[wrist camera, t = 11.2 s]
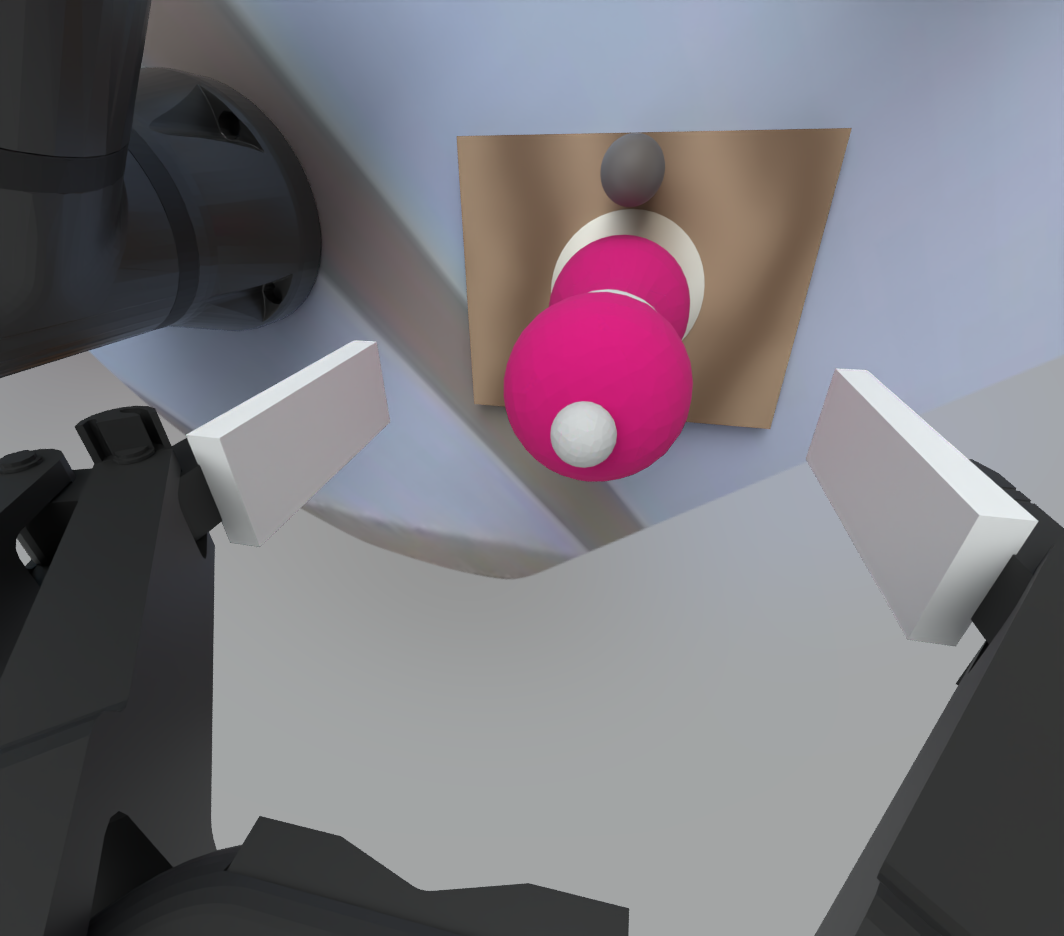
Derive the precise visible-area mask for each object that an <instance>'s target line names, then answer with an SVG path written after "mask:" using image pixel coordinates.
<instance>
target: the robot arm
mask: <svg viewBox="0 0 1064 936" xmlns="http://www.w3.org/2000/svg"><path fill="white" fill-rule="evenodd" d="M150 6H151V0H0V378H2V377H5V376H8V375H12V374H15V373H18V372H21V371H25V370H28V369H31V368H34V367H37V366H41V365H44V364H47V363H50V362H53V361H57V360H60V359H63V358H66V357H69V356H73V355H76V354H79V353H82V352H85V351H89V350H92V349H95V348H98V347H101V346H105V345H108V344H111V343H114V342H117V341H121V340H124V339H127V338H130V337H133V336H137V335H140V334H143V333H146V332H149V331H152V330H156V329H159V328H163V327H167V326H173V327H186V328H200V329H213V330H227V331H242V330H249V329H255V328H258V327H261V326H264V325H267V324H270V323H272V322H275V321H278V320H280V319H283V318H285V317H287V316H288V315H290V314H291V313H293V312H294V311H295V310H296V309H297V308H298V307H299V306H300V305H301V304H302V303H303V302H304V300H305V299H306V297H307V296H308V294H309V293H310V291H311V289H312V287H313V284H314V282H315V279H316V276H317V272H318V268H319V262H320V253H321V235H320V225H319V219H318V213H317V209H316V204H315V201H314V197H313V194H312V191H311V188H310V185H309V183H308V180H307V178H306V176H305V173H304V171H303V169H302V167H301V165H300V163H299V161H298V159H297V157H296V156H295V154H294V152H293V151H292V149H291V147H290V146H289V144H288V143H287V141H286V140H285V138H284V137H283V136H282V134H281V133H280V132H279V130H278V129H277V128H276V127H275V125H274V124H273V123H272V122H271V121H270V120H269V119H268V117H267V116H266V115H265V114H264V113H263V112H262V111H261V110H260V109H258V108H257V107H256V106H255V105H254V104H253V103H252V102H250V101H249V100H248V99H247V98H245V97H244V96H243V95H241V94H240V93H238V92H237V91H235V90H234V89H232V88H230V87H229V86H227V85H225V84H223V83H221V82H218V81H216V80H214V79H211V78H208V77H204V76H201V75H196V74H192V73H188V72H183V71H179V70H174V69H169V68H141V62H142V56H143V50H144V44H145V37H146V31H147V25H148V19H149V12H150ZM389 423H390V418H389V412H388V406H387V400H386V394H385V388H384V382H383V376H382V371H381V365H380V359H379V353H378V347H377V342H374V341H357V340H354V341H352V342H350V343H348V344H347V345H345V346H343V347H341V348H340V349H338V350H336V351H334V352H332V353H331V354H329V355H327V356H325V357H324V358H322V359H320V360H318V361H316V362H315V363H313V364H311V365H309V366H307V367H306V368H304V369H302V370H300V371H299V372H297V373H295V374H293V375H291V376H290V377H288V378H286V379H284V380H283V381H281V382H279V383H277V384H275V385H274V386H272V387H270V388H268V389H267V390H265V391H263V392H261V393H259V394H258V395H256V396H254V397H252V398H251V399H249V400H247V401H245V402H243V403H242V404H240V405H238V406H236V407H234V408H233V409H231V410H229V411H227V412H226V413H224V414H222V415H220V416H218V417H217V418H215V419H213V420H211V421H210V422H208V423H206V424H204V425H202V426H201V427H199V428H197V429H195V430H194V431H192V432H190V433H188V434H186V437H187V438H186V439H184V440H182V441H180V442H179V443H177V444H175V445H174V446H171V444H170V442H169V439H168V437H167V435H166V432H165V430H164V428H163V426H162V423H161V421H160V419H159V417H158V414H157V412H156V410H155V408H152V407H149V406H131V407H122V408H117V409H112V410H108V411H104V412H102V413H98V414H95V415H92V416H90V417H88V418H86V419H84V420H82V421H80V422H79V423H78V424H77V425H76V426H75V428H76V430H77V432H78V434H79V436H80V437H81V440H82V441H83V443H84V445H85V447H86V449H87V451H88V453H89V454H90V456H91V458H92V460H93V462H94V466H93V468H92V469H79V470H72V469H71V467H70V465H69V464H68V462H67V460H66V458H65V457H64V455H63V453H62V452H61V451H59V450H55V449H39V450H33V451H29V450H24V451H19V452H17V453H12V454H8V455H6V456H4V457H3V458H1V459H0V936H628V926H629V924H628V923H629V908H625V907H621V906H617V905H613V904H609V903H605V902H601V901H597V900H593V899H589V898H585V897H581V896H577V895H573V894H569V893H565V892H561V891H557V890H553V889H549V888H545V887H541V886H537V885H533V884H529V883H527V884H515V885H502V886H490V887H478V888H465V889H453V890H439V891H424V890H420V889H417V888H415V887H414V886H412V885H410V884H409V883H408V882H406V881H405V880H403V879H402V878H400V877H399V876H398V875H396V874H395V873H393V872H392V871H390V870H389V869H387V868H386V867H384V866H383V865H382V864H380V863H379V862H377V861H376V860H374V859H373V858H372V857H370V856H368V855H367V854H366V853H364V852H363V851H361V850H360V849H359V848H357V847H356V846H354V845H353V844H351V843H350V842H348V841H347V840H346V839H344V838H343V837H341V836H337V835H334V834H330V833H326V832H322V831H318V830H313V829H310V828H306V827H302V826H297V825H294V824H290V823H286V822H282V821H278V820H274V819H270V818H266V817H262V816H259V818H258V820H257V821H256V823H255V825H254V826H253V828H252V830H251V831H250V833H249V835H248V836H247V838H246V840H245V841H244V843H243V844H242V845H239V846H234V847H230V848H225V849H221V850H216V846H215V843H214V840H213V834H212V828H211V776H212V773H211V772H212V771H211V770H212V702H213V698H212V697H213V629H214V556H215V553H214V552H215V545H214V543H213V541H212V538H211V536H210V534H209V531H210V530H211V529H213V528H214V527H215V526H216V525H217V524H219V523H220V522H222V524H223V526H224V529H225V531H226V534H227V536H228V538H229V541H230V543H235V544H243V545H249V546H257V547H260V546H261V545H262V544H263V543H265V542H266V541H267V540H268V539H269V538H270V537H271V536H272V535H273V534H274V533H275V532H276V531H277V530H278V529H279V528H280V527H281V526H282V525H283V524H284V523H285V522H286V521H288V520H289V519H290V518H291V517H292V516H293V515H294V514H295V513H296V512H297V511H298V510H299V509H300V508H301V507H302V506H303V505H304V504H305V503H306V502H307V501H308V500H309V499H310V498H312V497H313V496H314V495H315V494H316V493H317V492H318V491H319V490H320V489H321V488H322V487H323V486H324V485H325V484H326V483H327V482H328V481H329V480H330V479H331V478H332V477H333V476H334V475H336V474H337V473H338V472H339V471H340V470H341V469H342V468H343V467H344V466H345V465H346V464H347V463H348V462H349V461H350V460H351V459H352V458H353V457H354V456H355V455H356V454H357V453H358V452H359V451H361V450H362V449H363V448H364V447H365V446H366V445H367V444H368V443H369V442H370V441H371V440H372V439H373V438H374V437H375V436H376V435H377V434H378V433H379V432H380V431H381V430H382V429H383V428H385V427H386V426H387V425H388V424H389ZM806 460H807V462H808V464H809V465H810V467H811V469H812V471H813V472H814V474H815V476H816V478H817V480H818V481H819V483H820V485H821V487H822V489H823V490H824V492H825V494H826V495H827V497H828V499H829V501H830V503H831V505H832V506H833V508H834V510H835V512H836V513H837V515H838V517H839V519H840V520H841V522H842V524H843V526H844V528H845V529H846V531H847V533H848V535H849V537H850V538H851V540H852V542H853V544H854V545H855V547H856V549H857V551H858V553H859V554H860V556H861V558H862V560H863V561H864V563H865V565H866V567H867V568H868V570H869V572H870V574H871V576H872V577H873V579H874V581H875V583H876V585H877V586H878V588H879V590H880V592H881V593H882V595H883V597H884V599H885V601H886V602H887V604H888V606H889V608H890V610H891V611H892V613H893V615H894V616H895V618H896V620H897V622H898V624H899V626H900V627H901V629H902V631H903V633H904V634H905V636H906V638H907V639H908V640H914V641H921V642H929V643H935V644H942V645H950V646H956V645H957V644H958V642H959V640H960V639H961V637H962V636H963V635H964V633H965V632H966V630H967V628H968V627H969V625H970V624H971V622H973V623H974V624H975V626H976V627H977V628H978V630H979V631H980V633H981V634H982V635H983V637H984V638H985V639H986V641H985V643H984V644H983V645H982V647H981V648H980V650H979V651H978V653H977V654H976V656H975V657H974V658H973V660H972V661H971V663H970V664H969V666H968V667H967V669H966V670H965V671H964V673H963V674H962V676H961V677H960V678H959V680H958V681H957V683H956V684H957V685H958V687H957V689H956V690H955V692H954V694H953V696H952V697H951V699H950V701H949V703H948V704H947V706H946V708H945V710H944V711H943V713H942V715H941V716H940V718H939V720H938V722H937V723H936V725H935V727H934V729H933V730H932V732H931V734H930V736H929V737H928V739H927V741H926V743H925V744H924V746H923V748H922V750H921V751H920V753H919V755H918V757H917V758H916V760H915V762H914V763H913V765H912V767H911V769H910V770H909V772H908V774H907V776H906V777H905V779H904V781H903V783H902V784H901V786H900V788H899V790H898V791H897V793H896V795H895V797H894V798H893V800H892V802H891V804H890V805H889V807H888V809H887V810H886V812H885V814H884V816H883V817H882V819H881V821H880V823H879V824H878V826H877V828H876V830H875V831H874V833H873V835H872V837H871V838H870V840H869V842H868V843H867V845H866V847H865V849H864V850H863V852H862V854H861V856H860V857H859V859H858V861H857V863H856V864H855V866H854V868H853V870H852V871H851V873H850V875H849V877H848V879H847V880H846V882H845V884H844V885H843V887H842V889H841V890H840V892H839V894H838V896H837V897H836V899H835V901H834V903H833V904H832V906H831V908H830V910H829V911H828V913H827V915H826V917H825V918H824V920H823V922H822V924H821V925H820V927H819V929H818V931H817V932H816V934H815V936H1064V528H1063V527H1061V526H1060V525H1059V524H1058V523H1057V522H1056V521H1054V520H1053V519H1052V518H1051V517H1050V516H1048V515H1047V514H1046V513H1045V512H1044V511H1042V510H1041V509H1040V508H1039V507H1038V506H1037V505H1035V504H1032V503H1030V501H1031V500H1030V499H1028V498H1027V497H1026V496H1025V495H1024V494H1023V493H1021V492H1020V491H1016V488H1015V487H1014V486H1013V485H1012V484H1011V483H1009V482H1008V481H1007V480H1006V479H1005V478H1004V477H1002V476H1001V475H1000V474H999V473H997V472H995V471H993V470H991V469H989V468H987V467H986V466H984V465H982V464H980V463H978V462H976V461H974V460H972V459H967V458H966V457H965V456H964V455H963V454H961V453H960V452H959V451H958V450H957V449H956V448H955V447H953V446H952V445H951V444H950V443H949V442H948V441H947V440H946V439H944V438H943V437H942V436H941V435H940V434H939V433H938V432H937V431H936V430H934V429H933V428H932V427H931V426H930V425H929V424H928V423H926V422H925V421H924V420H923V419H922V418H921V417H920V416H918V415H917V414H916V413H915V412H914V411H913V410H912V409H911V408H909V407H908V406H907V405H906V404H905V403H904V402H903V401H901V400H900V399H899V398H898V397H897V396H896V395H895V394H894V393H892V392H891V391H890V390H889V389H888V388H887V387H886V386H884V385H883V384H882V383H881V382H880V381H879V380H878V379H877V378H875V377H874V376H873V375H872V374H871V373H870V372H869V371H867V370H854V369H837V368H835V371H834V374H833V377H832V380H831V383H830V386H829V390H828V393H827V396H826V399H825V402H824V405H823V408H822V411H821V414H820V417H819V420H818V423H817V426H816V429H815V432H814V435H813V438H812V441H811V444H810V447H809V450H808V453H807V457H806ZM16 538H17V539H18V540H19V542H20V543H21V545H22V546H23V548H24V549H25V551H26V552H27V553H28V555H29V556H30V557H31V561H30V562H29V563H28V564H27V565H26V566H24V565H23V563H22V562H21V560H20V559H19V556H18V554H17V552H16Z"/></svg>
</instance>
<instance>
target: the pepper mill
mask: <svg viewBox="0 0 1064 936" xmlns="http://www.w3.org/2000/svg"><path fill="white" fill-rule="evenodd" d="M689 312H690V293H689V287H688V284H687V280H686V277H685V275H684V273H683V271H682V268H681V267H680V265H679V264H678V263H677V261H676V260H675V258H674V257H673V256H672V255H671V254H670V253H669V252H668V251H667V250H666V249H664V248H663V247H661V246H660V245H658V244H657V243H655V242H653V241H651V240H648V239H646V238H643V237H639V236H635V235H612V236H608V237H604V238H600V239H598V240H596V241H593V242H591V243H589V244H588V245H586V246H585V247H583V248H581V249H580V250H579V251H578V252H577V253H575V254H574V255H573V256H572V257H571V258H570V259H569V261H568V262H567V263H566V264H565V266H564V267H563V269H562V270H561V272H560V274H559V275H558V277H557V279H556V281H555V284H554V287H553V290H552V293H551V296H550V302H549V307H548V308H546V309H545V310H544V311H542V312H541V313H540V314H538V315H537V316H536V317H535V318H534V320H533V321H532V322H531V323H530V324H529V325H528V326H527V327H526V328H525V329H524V330H523V331H522V333H521V335H520V336H519V338H518V340H517V341H516V343H515V345H514V347H513V349H512V352H511V354H510V357H509V360H508V362H507V366H506V371H505V376H504V402H505V407H506V411H507V415H508V419H509V422H510V424H511V426H512V428H513V431H514V433H515V435H516V436H517V437H518V439H519V440H520V442H521V443H522V444H523V446H524V447H525V449H526V450H527V451H528V452H529V453H530V454H531V455H532V456H533V457H534V458H535V459H536V460H537V461H538V462H540V463H541V464H543V465H544V466H546V467H547V468H548V469H550V470H552V471H554V472H556V473H558V474H560V475H563V476H566V477H569V478H573V479H576V480H581V481H588V482H589V481H609V480H615V479H620V478H624V477H627V476H630V475H633V474H635V473H637V472H639V471H641V470H643V469H645V468H647V467H649V466H650V465H651V464H652V463H654V462H655V461H656V460H658V459H659V458H660V457H661V456H663V455H664V454H665V453H666V452H667V451H668V449H669V448H670V447H671V445H672V444H673V443H674V441H675V440H676V439H677V437H678V436H679V435H680V433H681V431H682V429H683V427H684V424H685V422H686V420H687V417H688V413H689V408H690V404H691V399H692V389H693V378H692V370H691V362H690V359H689V357H688V354H687V351H686V348H685V346H684V344H683V342H682V338H683V336H684V334H685V332H686V328H687V324H688V320H689Z"/></svg>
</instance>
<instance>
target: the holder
mask: <svg viewBox="0 0 1064 936" xmlns="http://www.w3.org/2000/svg"><path fill="white" fill-rule="evenodd" d="M851 129H852V128H837V129H788V130H739V131H690V132H642V133H593V134H544V135H495V136H457V149H458V164H459V179H460V194H461V209H462V224H463V239H464V255H465V270H466V285H467V300H468V315H469V330H470V345H471V360H472V376H473V391H474V404H482V405H493V406H505V402H504V376H505V371H506V366H507V362H508V360H509V357H510V354H511V352H512V349H513V347H514V345H515V343H516V341H517V340H518V338H519V336H520V335H521V333H522V331H523V330H524V329H525V328H526V327H527V326H528V325H529V324H530V323H531V322H532V321H533V320H534V318H535V317H536V316H537V315H538V314H540V313H541V312H542V311H544V310H545V309H546V308H548V307H549V302H550V296H551V293H552V290H553V287H554V284H555V281H556V279H557V277H558V275H559V274H560V272H561V270H562V269H563V267H564V266H565V264H566V263H567V262H568V261H569V259H570V258H571V257H572V256H573V255H574V254H575V253H577V252H578V251H579V250H580V249H581V248H583V247H585V246H586V245H588V244H589V243H591V242H593V241H596V240H598V239H600V238H604V237H608V236H612V235H635V236H639V237H643V238H646V239H648V240H651V241H653V242H655V243H657V244H658V245H660V246H661V247H663V248H664V249H666V250H667V251H668V252H669V253H670V254H671V255H672V256H673V257H674V258H675V260H676V261H677V263H678V264H679V265H680V267H681V268H682V271H683V273H684V275H685V277H686V280H687V284H688V287H689V293H690V312H689V320H688V324H687V328H686V332H685V334H684V336H683V338H682V342H683V344H684V346H685V348H686V351H687V354H688V357H689V359H690V362H691V370H692V378H693V389H692V399H691V404H690V408H689V413H688V417H687V420H686V422H694V423H705V424H717V425H729V426H741V427H753V428H764V429H770V427H771V424H772V420H773V416H774V413H775V409H776V405H777V401H778V398H779V394H780V390H781V387H782V383H783V379H784V376H785V372H786V368H787V365H788V361H789V357H790V354H791V350H792V346H793V343H794V339H795V335H796V331H797V328H798V324H799V320H800V317H801V313H802V309H803V306H804V302H805V298H806V295H807V291H808V287H809V284H810V280H811V276H812V273H813V269H814V265H815V261H816V258H817V254H818V250H819V247H820V243H821V239H822V236H823V232H824V228H825V225H826V221H827V217H828V214H829V210H830V206H831V202H832V199H833V195H834V191H835V188H836V184H837V180H838V177H839V173H840V169H841V166H842V162H843V158H844V155H845V151H846V147H847V144H848V140H849V136H850V132H851Z"/></svg>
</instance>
